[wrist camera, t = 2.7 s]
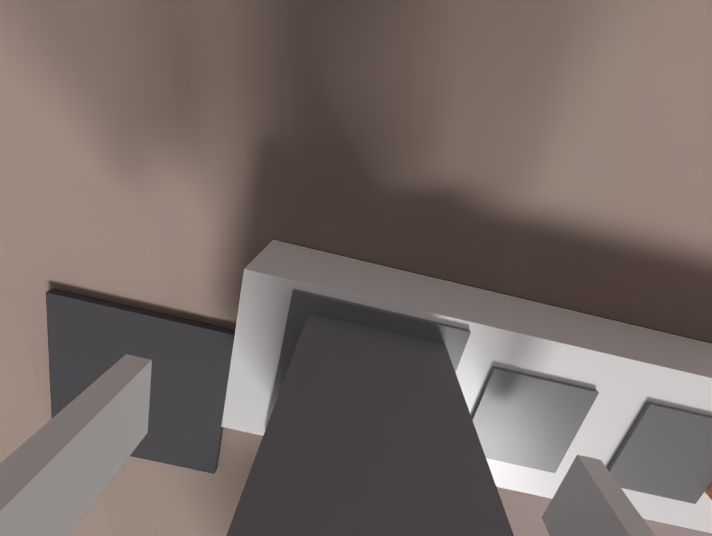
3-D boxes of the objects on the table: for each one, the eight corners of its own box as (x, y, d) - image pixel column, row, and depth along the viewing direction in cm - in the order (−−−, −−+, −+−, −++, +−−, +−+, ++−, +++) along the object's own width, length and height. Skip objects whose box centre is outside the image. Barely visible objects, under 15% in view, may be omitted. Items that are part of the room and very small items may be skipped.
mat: (58, 433, 21) (52, 439, 20) (52, 289, 18) (45, 292, 18) (217, 467, 21) (214, 473, 21) (237, 330, 18) (234, 335, 18)
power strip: (251, 369, 19) (213, 441, 14) (273, 239, 17) (235, 277, 12) (782, 488, 20) (903, 590, 15) (871, 381, 18) (1043, 464, 13)
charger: (284, 424, 15) (129, 932, 5) (308, 313, 13) (143, 761, 4) (407, 451, 15) (467, 989, 5) (445, 344, 13) (625, 848, 4)
